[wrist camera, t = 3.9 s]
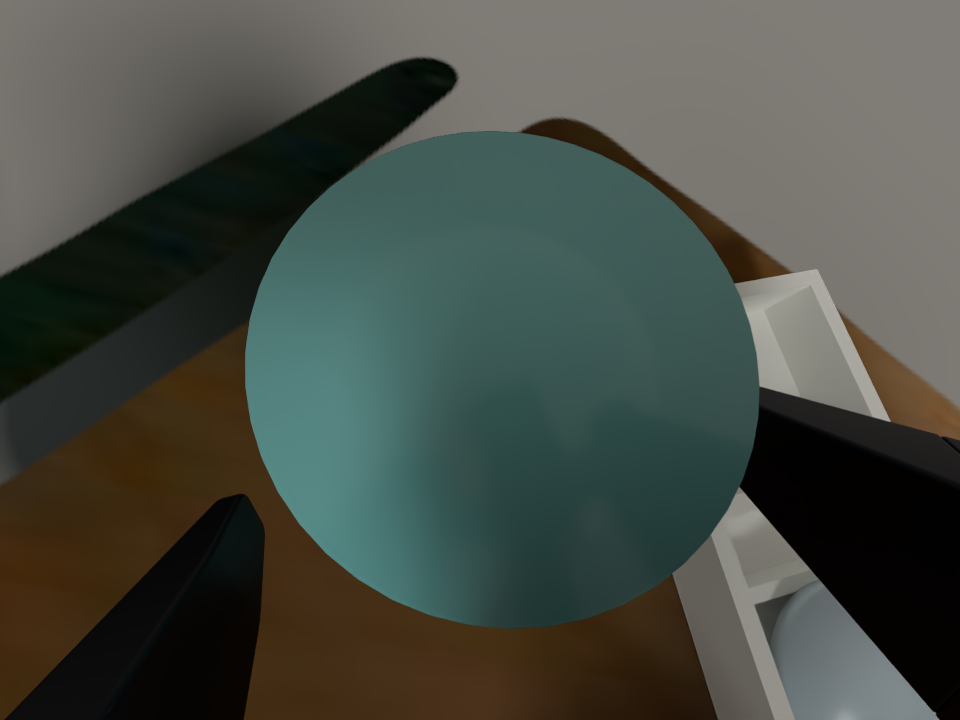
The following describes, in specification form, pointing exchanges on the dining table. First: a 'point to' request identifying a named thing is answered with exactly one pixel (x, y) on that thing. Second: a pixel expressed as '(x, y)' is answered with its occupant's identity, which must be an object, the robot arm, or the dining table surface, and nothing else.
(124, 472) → the dining table surface
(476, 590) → the teal rounded block
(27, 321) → the dining table surface
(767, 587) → the rack
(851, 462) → the robot arm
